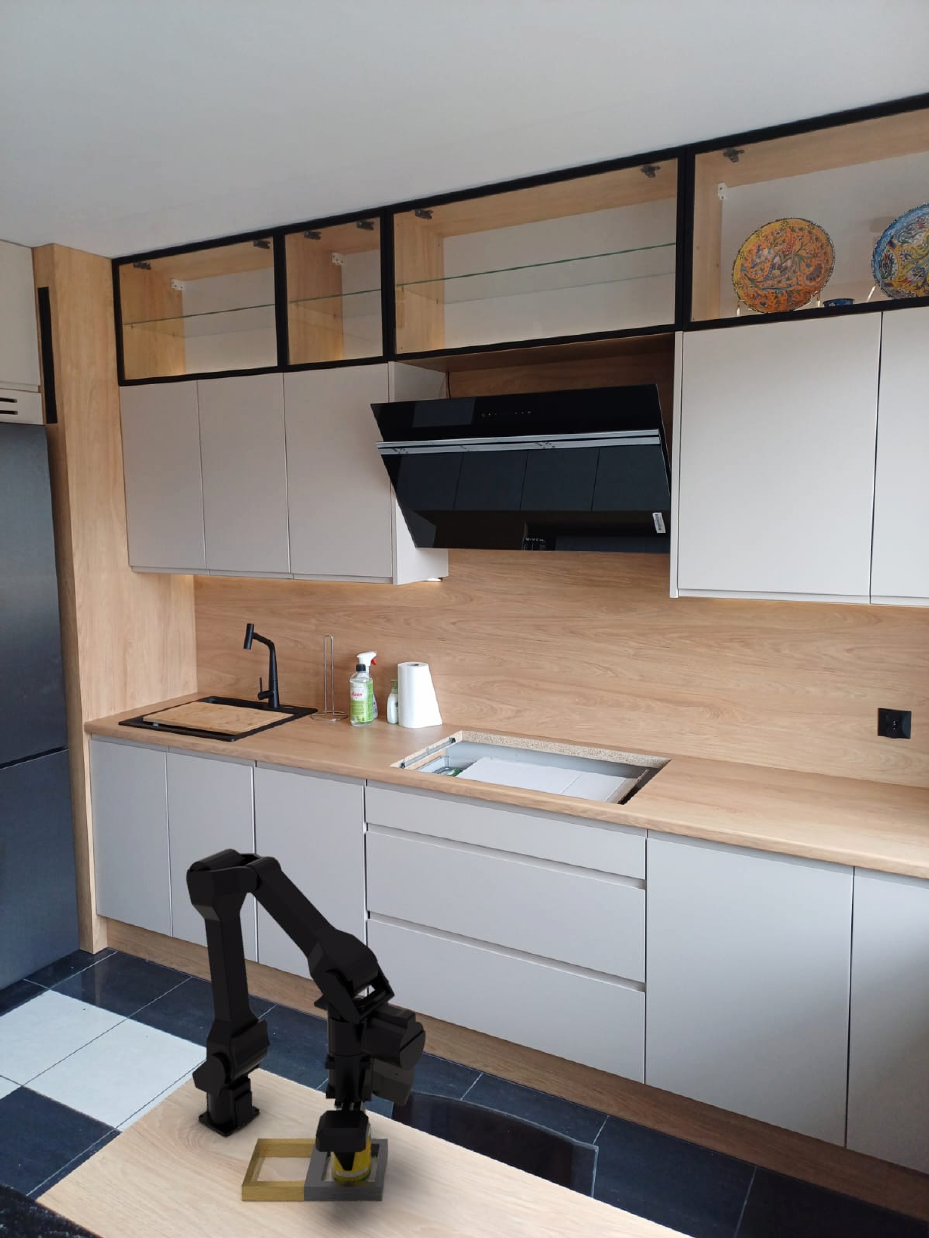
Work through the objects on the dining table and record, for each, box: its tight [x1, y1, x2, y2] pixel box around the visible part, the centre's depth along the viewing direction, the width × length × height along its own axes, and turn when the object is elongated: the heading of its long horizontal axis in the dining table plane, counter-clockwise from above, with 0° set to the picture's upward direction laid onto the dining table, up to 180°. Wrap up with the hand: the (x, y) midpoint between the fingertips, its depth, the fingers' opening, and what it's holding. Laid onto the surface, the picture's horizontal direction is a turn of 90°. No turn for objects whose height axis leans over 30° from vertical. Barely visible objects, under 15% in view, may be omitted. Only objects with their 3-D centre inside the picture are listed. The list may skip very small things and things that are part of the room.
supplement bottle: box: [330, 1102, 372, 1181], centre depth 117 cm, size 5×5×10 cm
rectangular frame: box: [240, 1137, 389, 1202], centre depth 117 cm, size 18×9×2 cm, turn 90°
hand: (351, 1154), depth 117 cm, fingers closed on supplement bottle, 5 cm apart
